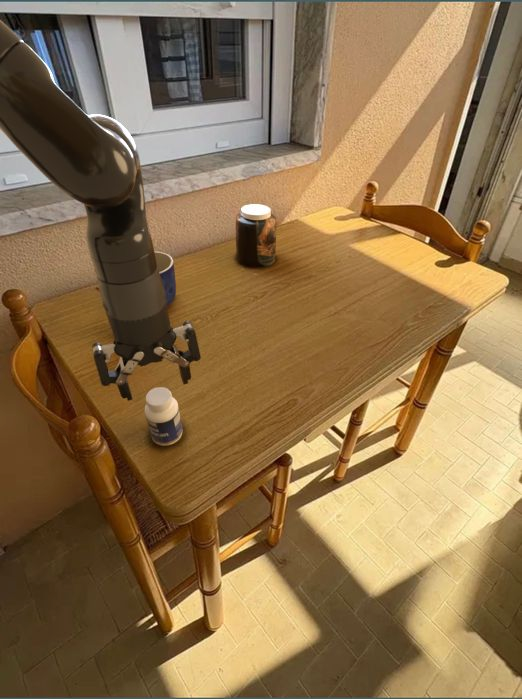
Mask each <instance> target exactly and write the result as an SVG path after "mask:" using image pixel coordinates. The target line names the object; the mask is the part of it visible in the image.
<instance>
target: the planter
mask: <svg viewBox="0 0 522 699" xmlns="http://www.w3.org/2000/svg"><path fill="white" fill-rule="evenodd" d="M154 253H155V258H156V263H157V267H158V270H159V273H160V276H161V279H162V283H163V288H164V290H165V293H166V297H165V298H166V303H167V307H169V306H170V305H172V303H173V302H174V301H175V299H176V296H177V282H176V281H177V280H176V272H175V271H176V270H175V264H174V259H173V257H172V256H171V255H169V254H168V253H166V252H161V251H155V250H154Z"/></svg>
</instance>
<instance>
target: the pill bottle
mask: <svg viewBox="0 0 522 699" xmlns="http://www.w3.org/2000/svg"><path fill="white" fill-rule="evenodd" d="M145 402H146V403H145V406H144V416H145V419H146V422H147V426H148V430H149V434H150V437H151V439H152V441H153V442H154V443H155V444H156V445H159V446H170V445H173V444H175V443H177V442H178V441H179V440H180V439H181V438H182V435H183V430H184V429H183V423H182V419H181V413H180V409H179V404H178V401H177V399H176V398H175V397H173V395H172V392H171V391H170V389H168V388H167V387H165V386H159V387H154V388H151V389H150V390H149V391H148V392H147V394H146V395H145Z"/></svg>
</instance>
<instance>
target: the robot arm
mask: <svg viewBox="0 0 522 699" xmlns="http://www.w3.org/2000/svg"><path fill="white" fill-rule="evenodd" d="M0 130H1V132H2V133H3V134H4V135H5V136H6V137H7V138H8V139H9V141H10V142H11V143H12V144H13V145H14V146H15V147H16V148H17V149H18V151H19V152H21V154H23V155H24V156H25V158H26V159H27V160H28V161H30V163H31V164H33V166H34V167H36V169H37V170H38V171H39V172H40V173H42V175H43V176H45V178H47V179H48V180H49V181H50V182H51V183H52V184H53V185H54V186H55V187H57V188H58V189H59V190H60V191H62V192H63V193H64V194H66V195H67V196H68V197H70V198H72V199H74V200H75V201H77V202H78V203H81V204H82V205H83V206H84V210H85V213H86V230H85V238H86V243H87V244H86V245H87V250H88V252H89V256H90V259H91V262H92V265H93V268H94V272H95V275H96V279H97V284H98V290H99V295H100V298H101V301H102V307H103V309H104V311H105V313H106V316H107V320H108V323H109V327H110V330H111V332H112V335H113V338H114V339H113V342H112V343H108V344H103V345H102V343H100V342H93V343H92V346H91V347H92V355H93V359H94V363H95V366H96V370H97V373H98V377H99V381H100V384H101V385H102V386H103V387H108V386H110V385H111V384H114V385H116V386H117V388H118V391H119V394H120V397H121V398H122V399H126V400H127V402H128V401H133V399H134V398H133V395H132V391H131V387H130V385H129V384H130V383H129V382H128V378H129V377H130V376H132V375H133V373H134V371H135V370H136V368H137V367H138V366H139V367H145V366H148V365H150V364H155V363H159V362H160V363H161V362H163V360H164V359H166V360H167V361H169V362H170V363H172V364H177V366H178V370H179V375H180V379H181V382H182V384H183V385H187V384H189V381H190V380H191V379H192V373H191V364H192V362H199V361H200V360H201V358H202V356H201V352H200V351H201V350H200V348H199V342H198V338H197V333H196V330H195V328H194V326H193V324H192V322H191V321H190V320H185V321H184V322H183V323H182V326H179V327H175V328H173V327H172V324H171V320H170V314H169V310H168V306H167V303H166V298H165V297H166V293H165V290H164V288H163V283H162V279H161V276H160V273H159V270H158V267H157V263H156V258H155V253H154V251H155V248H154V243H153V242H154V241H153V238H152V235H151V231H150V228H149V222H148V218H147V208H146V207H147V206H146V196H145V188H144V180H143V173H142V166H141V165H142V164H141V160H140V155H139V151H138V147H137V144H136V142H135V141H134V138H133V137H132V135H131V134H130V132H129V131H128V130H127V129H126V128H125V126H123V125H122V123H120V122H118V121H117V120H116V119H114V118H112V117H109V116H107V115H103V114H86V113H85V112H84V111H83V110H82V109H81V107H79V106H78V104H76V103H75V101H73V99H71V98H70V97H69V96H68V95H67V94H66V93H65V92H64V91H63V90H62V89H61V88H60V87H59V86H58V85H57V84H56V83H55V80H54V76H53V73H52V71H51V69H50V68H49V66H48V64H46V63H45V61H44V60H43V59H42V58H41V57H40V56H39V55H38V54H37V53H36V52H35V51H34V50H33V49H32V48H31V47H30V45H28V44H27V43H26V42H24V40H23V39H22V38H20V36H18V35H17V34H16V33H15V32H14V31H13V30H12V29H11V28H10V27H9V26H8V25H7V24H5V22H3V21H2V20H1V19H0ZM177 338H180V339H181V341H182V342H185V343H186V345H187V348H188V350H185V351H184V350H182V349H181V348H179V347H178V346H177V345H176V344H175V343H176V341H177ZM113 354H115V355H117V356H118V357H119V359H118V363H117V365H116V366H115V368H114V370H109V367H108V363H109V361H110V360H111V359H112V355H113Z"/></svg>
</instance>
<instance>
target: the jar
mask: <svg viewBox="0 0 522 699" xmlns="http://www.w3.org/2000/svg"><path fill="white" fill-rule="evenodd" d="M276 248H277V218H276V215H274V214H273V213H272V209H271V207H269V206H267V205H265V204H259V203H250V204H245V205H243V206H241V208H240V212H238V213H237V214H236V216H235V253H236V254H235V255H236V261H237V262H238V263H239V264H241V265H242V266H245V267H248V268H257V269H258V268H259V269H260V268H265V267H269V266H271V265H273V264H274V263H275V261H276Z"/></svg>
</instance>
